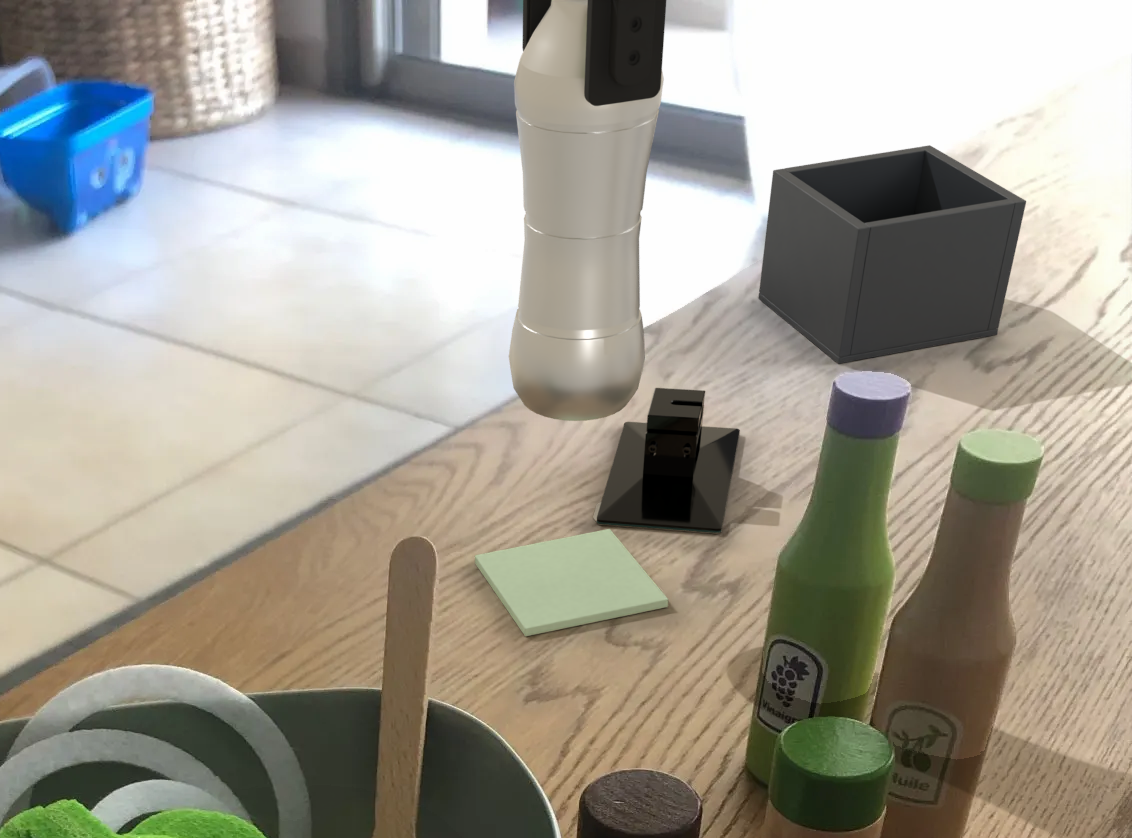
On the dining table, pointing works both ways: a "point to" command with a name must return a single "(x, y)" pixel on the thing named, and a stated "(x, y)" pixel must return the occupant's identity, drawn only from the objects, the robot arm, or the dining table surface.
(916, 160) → the open box
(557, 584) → the mat
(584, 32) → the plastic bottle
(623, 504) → the black piece
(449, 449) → the dining table surface
